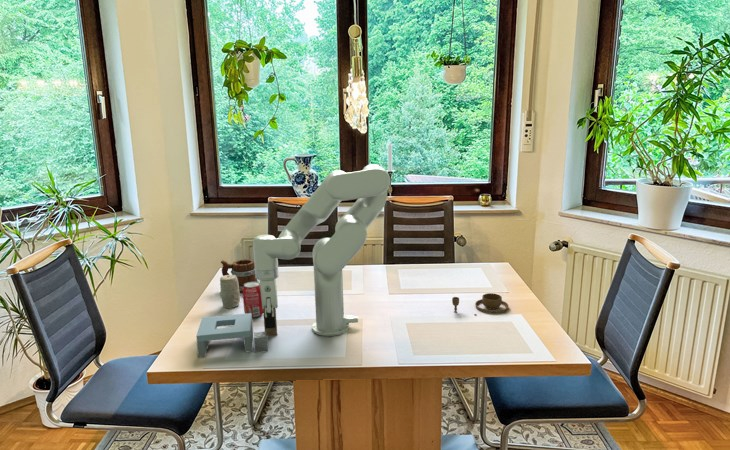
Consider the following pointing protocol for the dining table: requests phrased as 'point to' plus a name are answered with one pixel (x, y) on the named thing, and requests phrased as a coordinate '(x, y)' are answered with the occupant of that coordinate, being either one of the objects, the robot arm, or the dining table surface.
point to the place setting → (486, 303)
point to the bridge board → (225, 330)
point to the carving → (229, 291)
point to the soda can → (252, 299)
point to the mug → (241, 271)
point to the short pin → (260, 341)
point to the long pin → (271, 330)
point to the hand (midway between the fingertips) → (270, 323)
